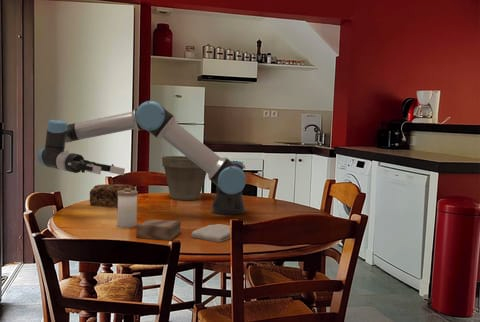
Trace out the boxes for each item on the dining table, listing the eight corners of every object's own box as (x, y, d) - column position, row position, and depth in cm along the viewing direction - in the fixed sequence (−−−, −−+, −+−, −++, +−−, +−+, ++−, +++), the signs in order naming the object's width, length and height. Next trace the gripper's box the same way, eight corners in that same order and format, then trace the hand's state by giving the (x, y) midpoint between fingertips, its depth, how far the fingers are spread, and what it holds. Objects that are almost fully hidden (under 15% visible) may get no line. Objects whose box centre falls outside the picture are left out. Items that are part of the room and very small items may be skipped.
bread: (136, 205, 223) (136, 184, 222) (126, 208, 212) (127, 186, 212) (99, 202, 226) (99, 181, 225) (88, 205, 216) (88, 184, 215)
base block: (180, 232, 170) (180, 220, 170) (170, 240, 158) (171, 227, 158) (148, 230, 171) (148, 218, 171) (136, 237, 160) (136, 225, 159)
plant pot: (185, 193, 265) (187, 154, 263) (218, 199, 249) (220, 158, 248) (151, 197, 245) (152, 156, 244) (184, 204, 230) (185, 159, 228)
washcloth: (244, 234, 173) (245, 225, 173) (220, 244, 157) (221, 235, 157) (216, 229, 179) (216, 221, 178) (190, 239, 163) (190, 230, 162)
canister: (139, 224, 181) (140, 187, 180) (132, 228, 174) (133, 190, 173) (121, 222, 182) (122, 186, 181) (113, 226, 175) (114, 189, 174)
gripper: (48, 150, 178) (91, 159, 169) (94, 155, 201) (134, 163, 192) (45, 170, 178) (87, 180, 169) (91, 172, 201) (131, 181, 192)
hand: (112, 171), depth 181 cm, fingers open, 13 cm apart
